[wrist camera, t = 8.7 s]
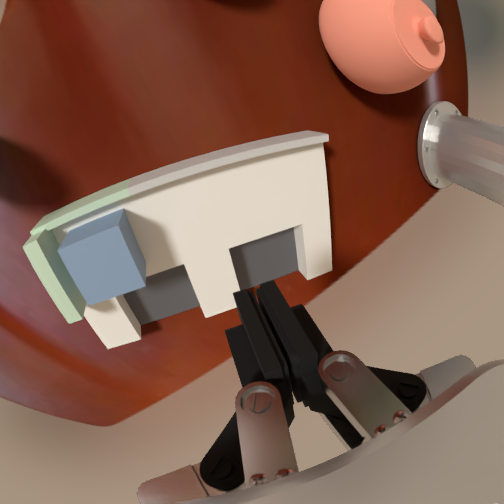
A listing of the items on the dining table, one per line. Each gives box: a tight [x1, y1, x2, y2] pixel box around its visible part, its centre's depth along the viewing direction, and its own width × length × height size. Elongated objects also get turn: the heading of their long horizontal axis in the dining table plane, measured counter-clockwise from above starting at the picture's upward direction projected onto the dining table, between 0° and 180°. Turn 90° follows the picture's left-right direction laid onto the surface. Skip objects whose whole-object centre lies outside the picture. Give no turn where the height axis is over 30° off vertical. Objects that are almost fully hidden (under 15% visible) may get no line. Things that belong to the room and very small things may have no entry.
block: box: [57, 208, 146, 306], centre depth 19 cm, size 5×5×4 cm
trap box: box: [23, 131, 332, 349], centre depth 23 cm, size 25×14×6 cm, turn 101°
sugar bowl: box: [319, 0, 445, 94], centre depth 15 cm, size 12×14×10 cm
